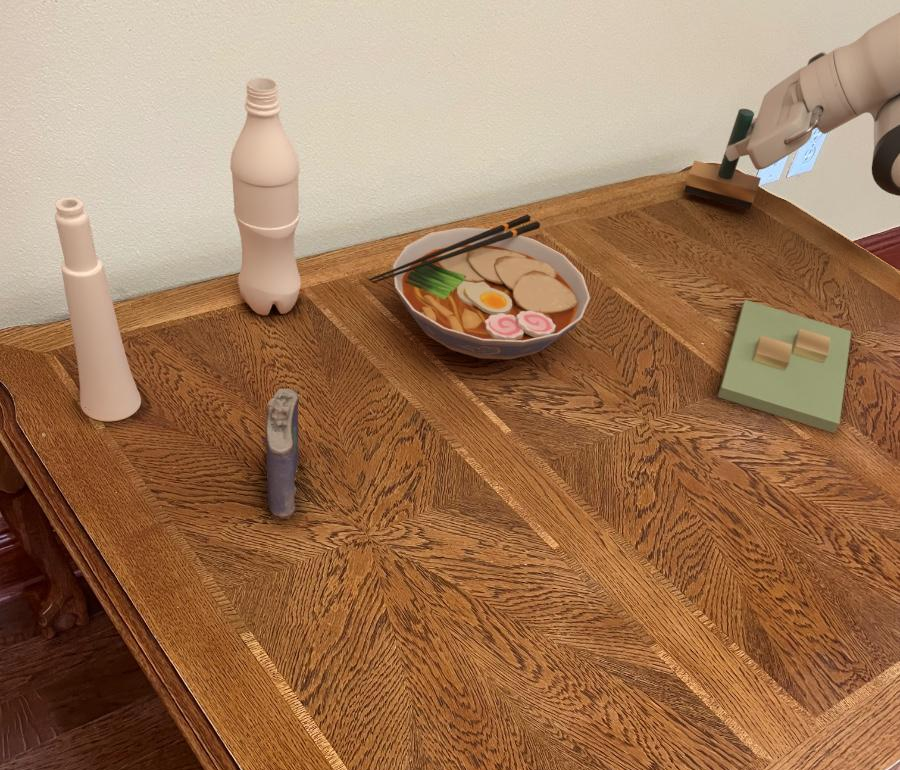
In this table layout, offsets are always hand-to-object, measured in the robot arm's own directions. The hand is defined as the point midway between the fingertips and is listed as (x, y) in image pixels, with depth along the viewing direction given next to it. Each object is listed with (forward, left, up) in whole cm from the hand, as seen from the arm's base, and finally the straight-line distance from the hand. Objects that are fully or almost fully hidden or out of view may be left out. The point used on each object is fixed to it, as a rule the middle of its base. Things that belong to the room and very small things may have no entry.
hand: (729, 149), depth 134 cm
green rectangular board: (+20, +34, -8) cm, 40 cm away
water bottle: (+71, -4, -8) cm, 71 cm away
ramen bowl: (+51, +12, -8) cm, 53 cm away
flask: (+84, +24, -8) cm, 88 cm away
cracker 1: (+22, +33, -6) cm, 40 cm away
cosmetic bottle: (+94, +5, -8) cm, 94 cm away
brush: (0, +1, -7) cm, 7 cm away
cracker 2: (+16, +34, -6) cm, 38 cm away
